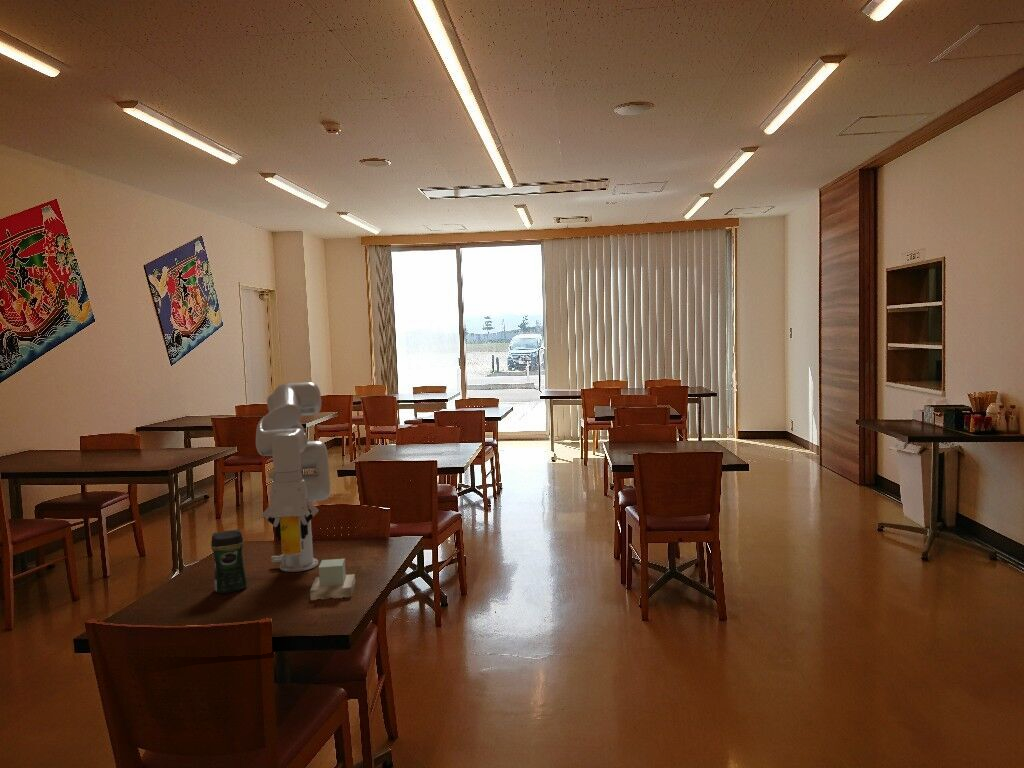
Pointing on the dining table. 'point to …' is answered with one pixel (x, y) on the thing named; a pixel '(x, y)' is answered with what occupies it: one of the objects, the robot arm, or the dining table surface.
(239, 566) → the coffee jar
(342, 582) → the cube
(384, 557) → the dining table surface
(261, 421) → the robot arm
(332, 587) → the slab
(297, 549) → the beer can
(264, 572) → the dining table surface
